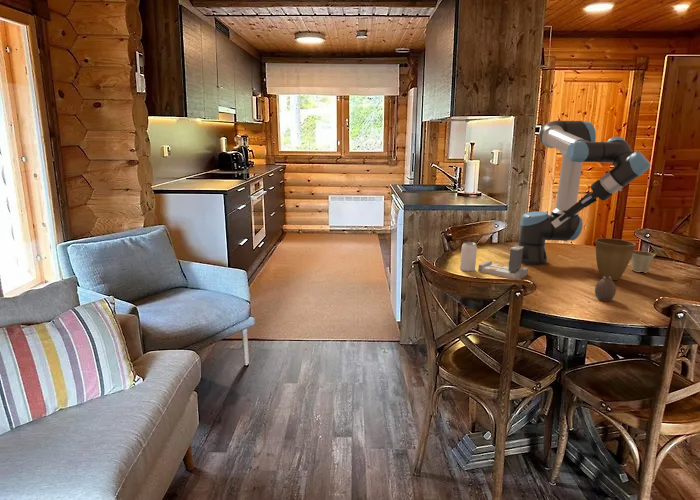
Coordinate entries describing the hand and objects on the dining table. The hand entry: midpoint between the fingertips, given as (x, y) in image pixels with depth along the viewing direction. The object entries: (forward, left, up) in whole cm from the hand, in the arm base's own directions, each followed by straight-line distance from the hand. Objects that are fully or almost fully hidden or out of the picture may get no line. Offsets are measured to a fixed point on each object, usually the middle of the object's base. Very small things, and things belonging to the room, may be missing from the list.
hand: (554, 224), depth 195 cm
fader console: (+13, -13, -24) cm, 31 cm away
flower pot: (-51, -14, -24) cm, 58 cm away
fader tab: (+10, -10, -23) cm, 27 cm away
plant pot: (-31, -5, -24) cm, 40 cm away
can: (+27, -19, -24) cm, 41 cm away
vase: (-12, +21, -24) cm, 34 cm away
